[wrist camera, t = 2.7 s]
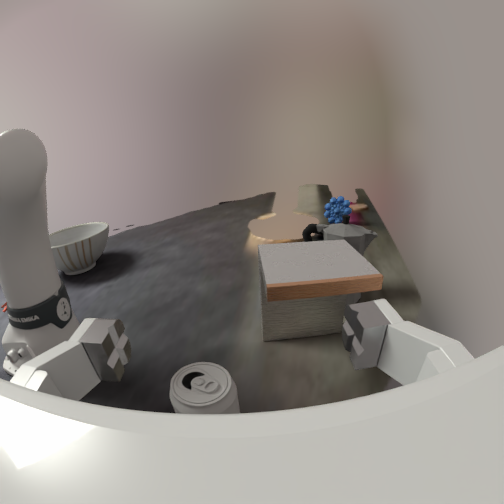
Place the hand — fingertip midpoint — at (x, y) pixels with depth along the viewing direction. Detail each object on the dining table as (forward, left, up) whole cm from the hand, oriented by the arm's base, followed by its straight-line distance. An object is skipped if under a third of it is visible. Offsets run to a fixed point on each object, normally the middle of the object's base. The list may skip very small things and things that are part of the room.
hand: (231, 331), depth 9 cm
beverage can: (-4, +9, -25) cm, 27 cm away
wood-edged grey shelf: (+10, +26, -25) cm, 37 cm away
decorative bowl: (-55, +68, -25) cm, 91 cm away
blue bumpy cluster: (+40, +97, -25) cm, 108 cm away
